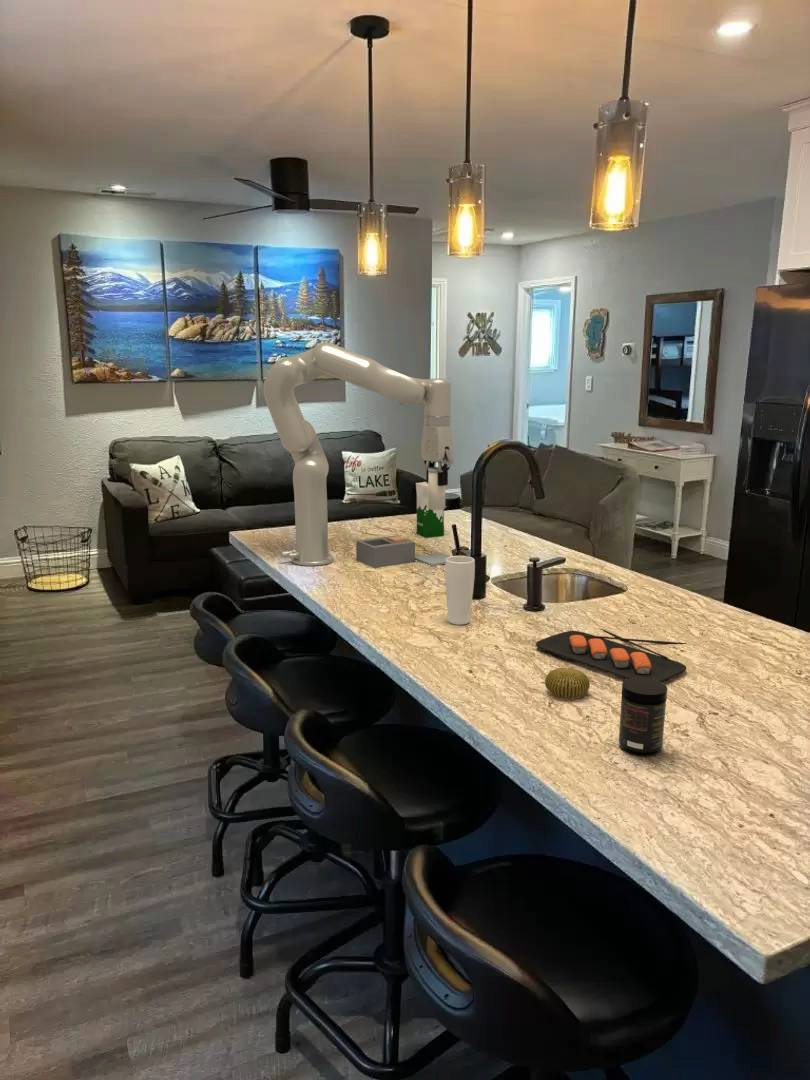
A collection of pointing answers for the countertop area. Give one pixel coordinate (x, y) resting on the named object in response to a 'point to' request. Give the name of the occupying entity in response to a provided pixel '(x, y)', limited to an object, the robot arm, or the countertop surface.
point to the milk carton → (428, 515)
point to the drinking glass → (459, 588)
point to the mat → (433, 559)
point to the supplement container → (642, 716)
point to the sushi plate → (613, 655)
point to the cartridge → (435, 490)
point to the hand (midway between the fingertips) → (436, 483)
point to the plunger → (396, 539)
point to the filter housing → (384, 552)
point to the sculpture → (567, 683)
